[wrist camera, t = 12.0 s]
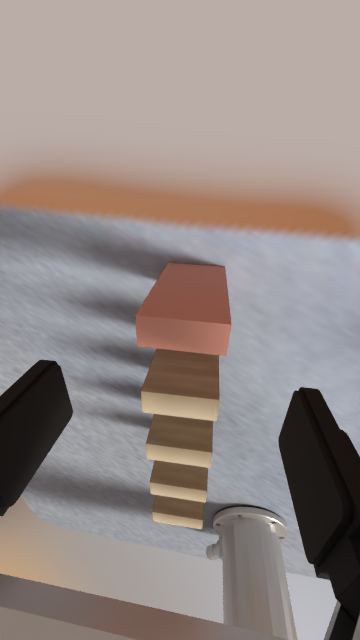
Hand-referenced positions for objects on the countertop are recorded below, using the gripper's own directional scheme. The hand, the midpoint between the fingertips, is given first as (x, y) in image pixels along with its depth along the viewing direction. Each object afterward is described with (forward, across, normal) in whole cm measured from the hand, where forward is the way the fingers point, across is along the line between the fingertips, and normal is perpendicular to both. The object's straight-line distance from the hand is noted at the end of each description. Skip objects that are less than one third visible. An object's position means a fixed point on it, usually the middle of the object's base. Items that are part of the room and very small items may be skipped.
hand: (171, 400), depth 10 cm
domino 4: (+14, 0, +16) cm, 21 cm away
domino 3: (+14, 0, +10) cm, 17 cm away
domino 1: (+14, 0, -1) cm, 14 cm away
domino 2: (+14, 0, +5) cm, 15 cm away
